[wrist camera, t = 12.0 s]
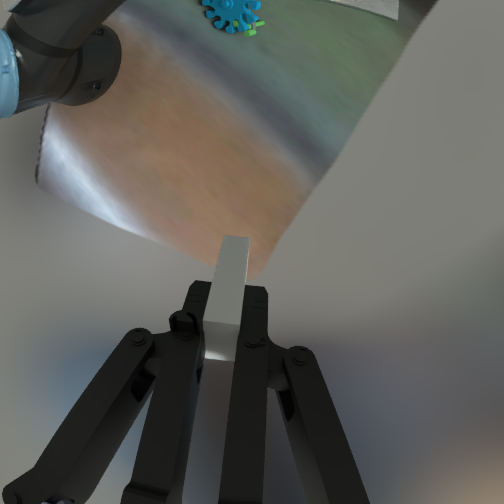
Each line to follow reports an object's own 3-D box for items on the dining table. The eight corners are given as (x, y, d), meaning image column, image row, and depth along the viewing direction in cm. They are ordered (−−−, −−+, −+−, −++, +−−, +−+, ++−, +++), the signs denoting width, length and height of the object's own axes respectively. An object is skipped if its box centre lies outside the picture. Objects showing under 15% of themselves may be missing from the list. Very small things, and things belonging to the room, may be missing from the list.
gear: (189, -8, 26) (232, -39, 19) (219, -14, 28) (263, -40, 21) (220, 48, 33) (269, 28, 26) (247, 39, 35) (296, 21, 28)
